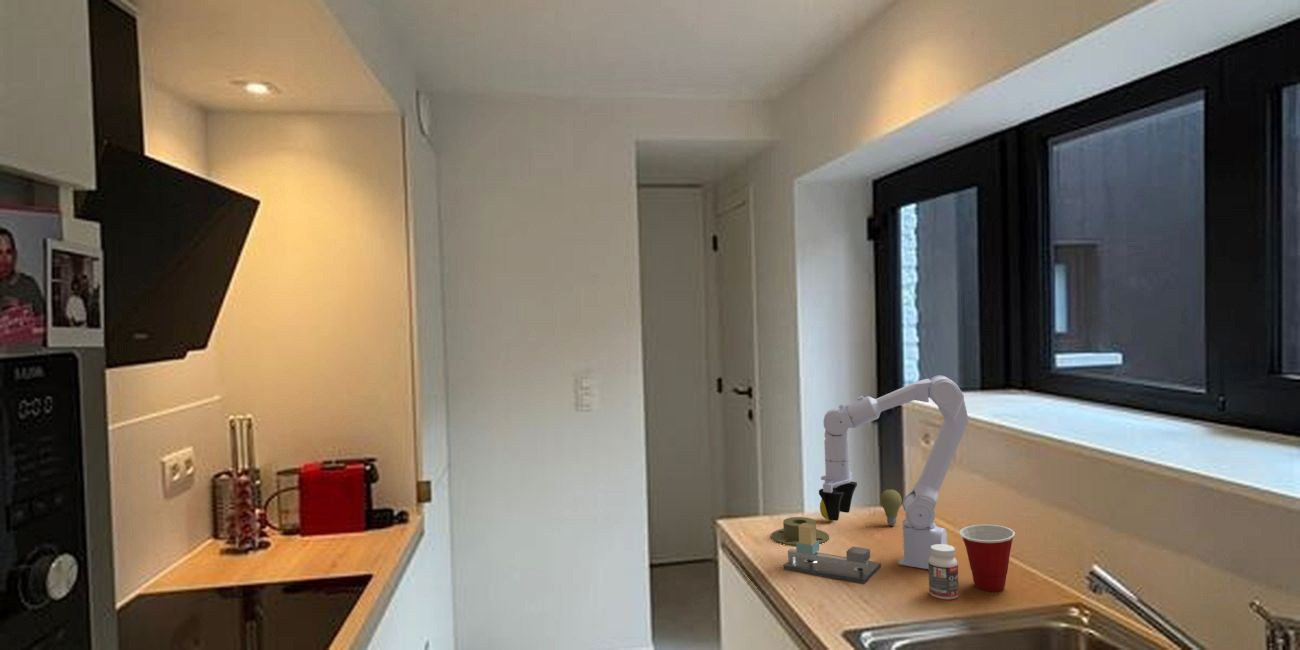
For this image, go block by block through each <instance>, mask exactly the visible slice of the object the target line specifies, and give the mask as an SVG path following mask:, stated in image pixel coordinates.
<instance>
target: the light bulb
mask: <svg viewBox="0 0 1300 650" xmlns="http://www.w3.org/2000/svg"><path fill="white" fill-rule="evenodd" d="M879 499H880V504H881V507H882V509H883V511H884V515H885V516H886V520H887V521H886V522H887V525H889V526H890V527H894V526H895V525H896V524H897V517H898V513H899V510H900V508H901V506H902V504H903V500H902V496H901V494H900V492H898V491H897V490H895V489H892V488H891V489H889V488H887V489H886V490H884V491H882V493H881V494H880V497H879Z"/></svg>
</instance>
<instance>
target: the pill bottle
mask: <svg viewBox="0 0 1300 650" xmlns="http://www.w3.org/2000/svg"><path fill="white" fill-rule="evenodd" d="M931 553H932V556H930V558H929V560H928V566H929V569H928V592H929V593H930V595H931V596H932V597H934V598H936V599H941V600H954V599H955V600H956V598H958V597H959V589H960V588H959V587H960V586H959V563H958V560H957V559H956V558H955V555H956V549H955V547H954V546H952V545H951V544H947V545H946V544H935V545H932V546H931Z"/></svg>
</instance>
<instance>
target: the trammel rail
mask: <svg viewBox="0 0 1300 650" xmlns="http://www.w3.org/2000/svg"><path fill="white" fill-rule="evenodd" d="M820 553H821V552H817V553H815V554H813V555H811V554H805V553H799V552H797V551H796V549H794V548H790V549H788V550H787V559H788V560H787V562H794V561H796V557H798V558H804V559H810V560H816V561H822V562H828V563H834V564H840V565H845V566H851V567H857V568H859V569H863V575H869V574H870V573H871V571H870V562H869V561H870V559H871V549H870V548H866V547H859V546H858V547H857V546H851V547H850V548H848V549H847V550H846V552H845V553H846V557H847V558H844V557H845V556H842V557H838V556H839V555H836V556H832V555H833V554H830V555H826V554H827V553H824V554H820Z"/></svg>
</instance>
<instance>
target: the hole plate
mask: <svg viewBox="0 0 1300 650" xmlns="http://www.w3.org/2000/svg"><path fill="white" fill-rule="evenodd" d="M816 553H818V551H817V552H816ZM819 553H820V554H826V555H832V556H838V557H844V558H847V556H842V555H841V556H840V555H836V554H829V553H824V552H823V553H822V552H819ZM868 561H869V562H870V571H871V573H870V574H869V575H863V569H859V568H857V567H851V566H845V565H840V564H834V563H828V562H822V561H816V560H812V561H811V560H809V559H804V558H798V557H796V561H794V562H788V561H787V562H785V564H783V570H784V571H785V570H786V571H791V572H795V573H801V574H808V575H812V576H818V577H824V578H828V577H829V579H833V578H834V580H839V581H844V580H845V582H851V583H855V584H861V585H865V584H866V583H867V582H868V581H869V580H870V579H871V578H873V576H874V575H876V573H877V572H878V571H879V570H881V568H882V563H881V562H878V561H871V560H868ZM877 570H878V571H877Z"/></svg>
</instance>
